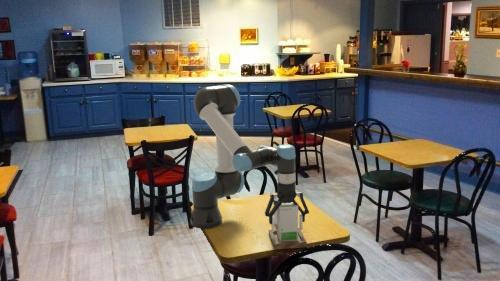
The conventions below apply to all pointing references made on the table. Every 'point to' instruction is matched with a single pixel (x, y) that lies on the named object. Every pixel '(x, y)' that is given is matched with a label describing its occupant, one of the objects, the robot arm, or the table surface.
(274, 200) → the jar
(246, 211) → the table surface
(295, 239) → the skincare box
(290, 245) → the brown wooden tray
